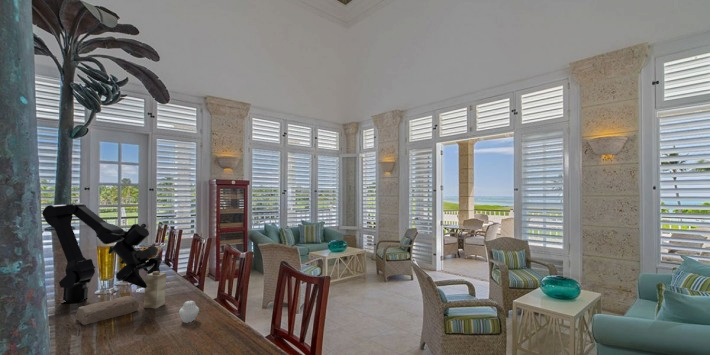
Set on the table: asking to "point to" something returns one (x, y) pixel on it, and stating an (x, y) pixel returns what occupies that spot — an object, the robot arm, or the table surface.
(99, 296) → the table surface
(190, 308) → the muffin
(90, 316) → the brick
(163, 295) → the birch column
